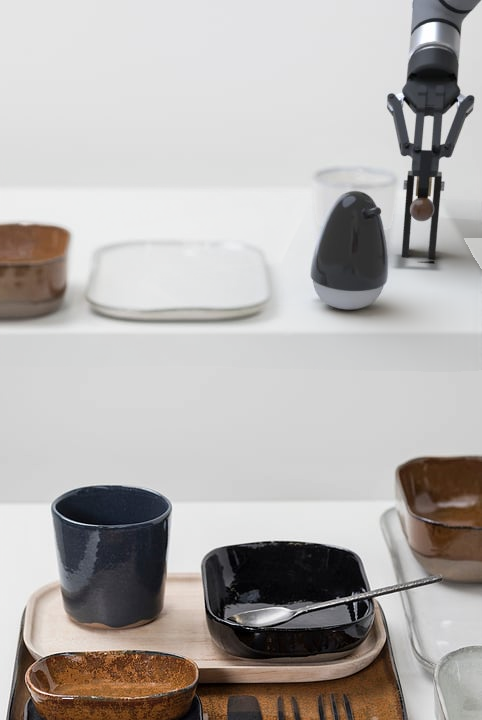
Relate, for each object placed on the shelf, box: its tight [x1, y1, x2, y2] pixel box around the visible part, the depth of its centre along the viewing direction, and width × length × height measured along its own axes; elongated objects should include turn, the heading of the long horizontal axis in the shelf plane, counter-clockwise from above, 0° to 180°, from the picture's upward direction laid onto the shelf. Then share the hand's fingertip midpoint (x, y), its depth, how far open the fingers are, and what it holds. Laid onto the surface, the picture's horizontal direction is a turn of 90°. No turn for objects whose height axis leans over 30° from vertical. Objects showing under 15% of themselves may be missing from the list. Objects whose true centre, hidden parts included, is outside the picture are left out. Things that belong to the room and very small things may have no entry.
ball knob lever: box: [410, 176, 434, 222], centre depth 159 cm, size 13×3×3 cm, turn 168°
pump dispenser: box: [310, 190, 389, 311], centre depth 143 cm, size 10×10×15 cm
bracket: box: [401, 170, 446, 265], centre depth 165 cm, size 8×6×14 cm
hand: (423, 193), depth 155 cm, fingers closed
